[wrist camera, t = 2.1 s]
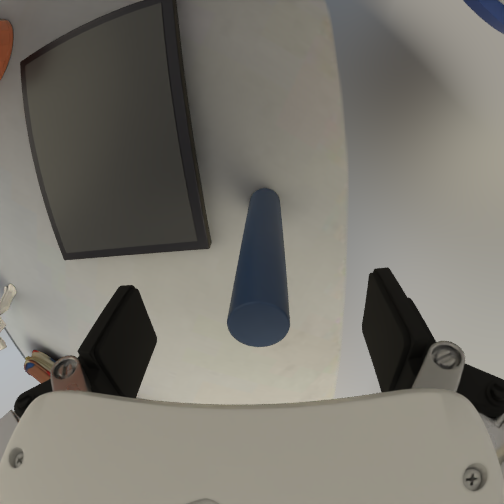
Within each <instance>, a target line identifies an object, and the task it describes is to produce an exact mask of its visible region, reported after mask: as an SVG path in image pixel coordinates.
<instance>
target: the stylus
mask: <svg viewBox="0 0 504 504" xmlns="http://www.w3.org/2000/svg"><path fill="white" fill-rule="evenodd" d="M227 326H228V329H229V331H230V333H231V335H232V336H233V337H234V338H235V339H236V340H238V341H239V342H241V343H243V344H246V345H249V346H254V347H265V346H270V345H273V344H276V343H277V342H279V341H281V340H282V339H283V338H284V337H285V336H286V334H287V333H288V331H289V327H290V317H289V303H288V289H287V276H286V264H285V252H284V240H283V229H282V219H281V208H280V200H279V197H278V195H277V194H276V193H275V192H274V191H273V190H271V189H267V188H263V189H259V190H257V191H255V192H254V193H253V194H252V196H251V198H250V203H249V208H248V213H247V218H246V223H245V228H244V234H243V239H242V244H241V249H240V255H239V260H238V265H237V271H236V276H235V281H234V287H233V292H232V297H231V303H230V308H229V314H228V319H227Z"/></svg>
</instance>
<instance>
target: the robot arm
mask: <svg viewBox="0 0 504 504" xmlns="http://www.w3.org/2000/svg"><path fill="white" fill-rule="evenodd" d="M498 1H500V2H501V3H502V4H503V5H504V0H498ZM362 332H363V335H364V338H365V341H366V344H367V347H368V350H369V353H370V356H371V359H372V362H373V366H374V369H375V372H376V375H377V378H378V381H379V385H380V388H381V392H382V393H376V394H369V395H362V396H355V397H347V398H339V399H331V400H321V401H311V402H299V403H283V404H257V405H218V404H193V403H177V402H164V401H154V400H145V399H137V398H136V396H137V393H138V390H139V388H140V385H141V382H142V380H143V377H144V374H145V372H146V369H147V366H148V364H149V361H150V359H151V356H152V353H153V351H154V348H155V346H156V343H157V336H156V333H155V331H154V329H153V326H152V324H151V321H150V319H149V316H148V314H147V311H146V309H145V306H144V303H143V301H142V298H141V295H140V293H139V290H138V289H135V287H134V286H132V285H126V286H120V287H119V288H118V289H117V291H116V292H115V294H114V295H113V297H112V298H111V299H110V301H109V302H108V304H107V305H106V307H105V308H104V310H103V311H102V313H101V315H100V316H99V318H98V319H97V321H96V322H95V324H94V325H93V327H92V329H91V330H90V332H89V333H88V335H87V337H86V338H85V340H84V341H83V343H82V345H81V346H80V348H79V350H78V353H79V357H78V358H77V357H75V356H72V355H71V356H65V357H62V358H60V359H59V360H57V361H56V362H55V363H54V365H53V366H52V368H51V371H50V377H51V379H49V380H47V381H45V382H43V383H41V384H39V385H38V386H36V387H33V388H32V389H30V390H28V391H26V392H24V393H22V394H21V395H20V396H19V397H18V399H17V400H16V402H15V405H14V410H15V411H14V412H13V411H12V410H10V411H9V412H8V413H7V414H6V415H5V416H4V417H3V418H1V419H0V504H504V380H503V379H501V378H498V377H496V376H493V375H491V374H489V373H486V372H484V371H481V370H479V369H477V368H475V367H472V366H470V365H467V364H465V355H464V352H463V351H462V349H461V348H460V347H459V346H458V345H456V344H454V343H452V342H448V341H439V342H436V341H435V339H434V337H433V336H432V334H431V332H430V330H429V328H428V327H427V325H426V323H425V321H424V320H423V318H422V316H421V314H420V313H419V311H418V309H417V308H416V306H415V304H414V303H413V301H412V300H411V299H410V298H407V296H406V295H405V293H404V292H403V290H402V288H401V286H400V285H399V283H398V282H397V280H396V278H395V277H394V275H393V274H392V272H391V270H390V269H389V268H378V269H374V271H373V273H370V274H369V281H368V288H367V295H366V303H365V310H364V316H363V322H362Z"/></svg>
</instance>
